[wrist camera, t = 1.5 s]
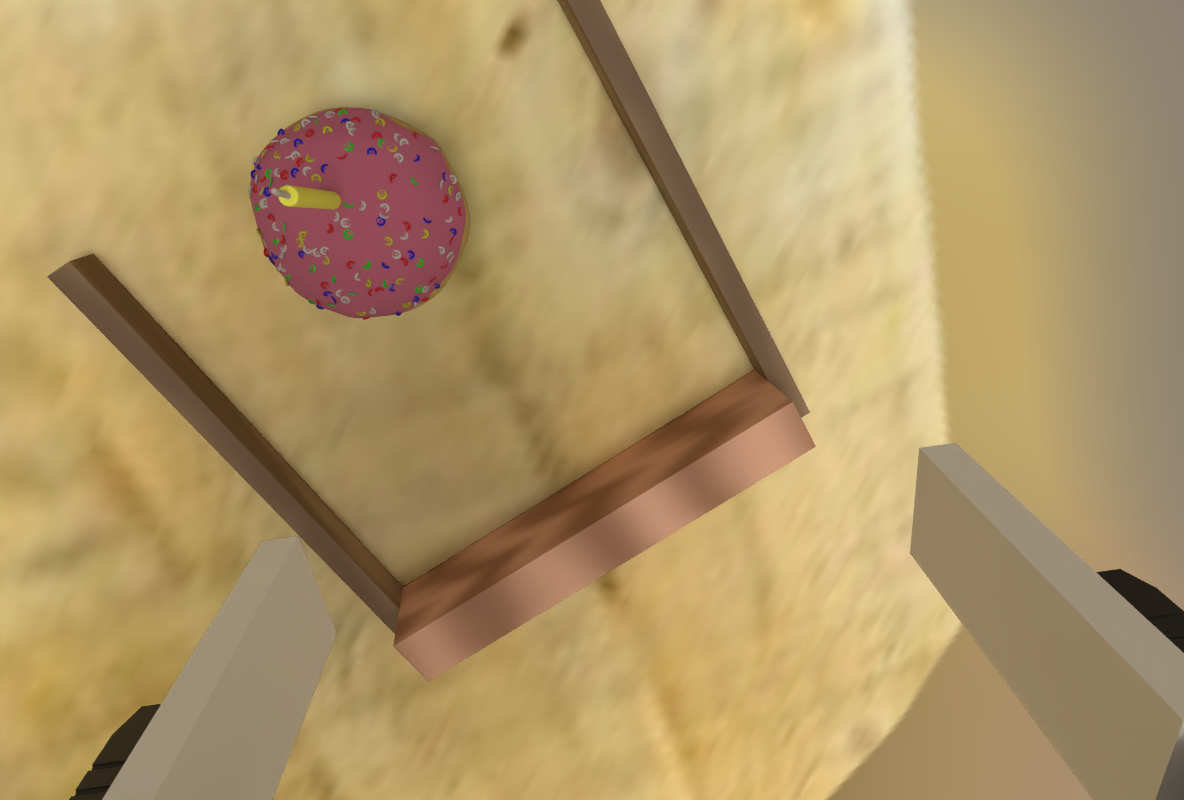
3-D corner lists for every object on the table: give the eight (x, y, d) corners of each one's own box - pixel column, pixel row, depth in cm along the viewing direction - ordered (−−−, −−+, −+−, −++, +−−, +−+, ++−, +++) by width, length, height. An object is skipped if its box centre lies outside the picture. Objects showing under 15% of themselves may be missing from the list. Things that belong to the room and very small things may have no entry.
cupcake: (242, 199, 32) (116, 234, 20) (371, 65, 30) (310, 26, 19) (385, 329, 35) (342, 420, 24) (506, 212, 34) (521, 251, 23)
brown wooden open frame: (417, 630, 41) (409, 692, 37) (72, 268, 31) (2, 291, 27) (794, 399, 40) (836, 434, 35) (556, -62, 30) (571, -97, 25)
